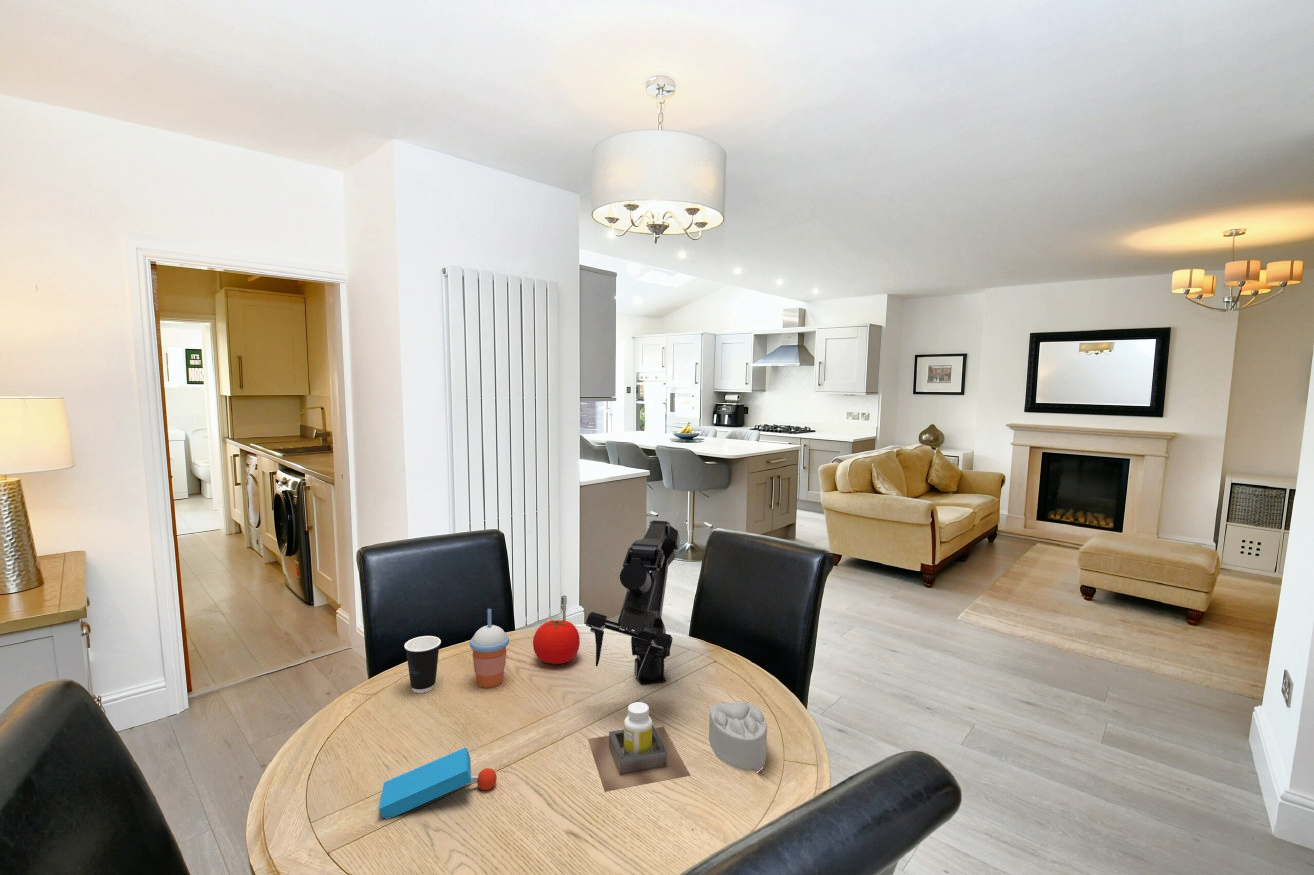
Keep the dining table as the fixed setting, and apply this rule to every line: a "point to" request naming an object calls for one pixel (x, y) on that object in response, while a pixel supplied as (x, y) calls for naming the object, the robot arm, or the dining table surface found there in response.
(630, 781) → the walnut board
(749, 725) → the lumpy-topped squat cylinder
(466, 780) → the lever
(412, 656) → the dixie cup
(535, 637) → the tomato
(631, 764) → the metal collar
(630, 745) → the supplement bottle
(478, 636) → the cup with straw
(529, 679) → the dining table surface
